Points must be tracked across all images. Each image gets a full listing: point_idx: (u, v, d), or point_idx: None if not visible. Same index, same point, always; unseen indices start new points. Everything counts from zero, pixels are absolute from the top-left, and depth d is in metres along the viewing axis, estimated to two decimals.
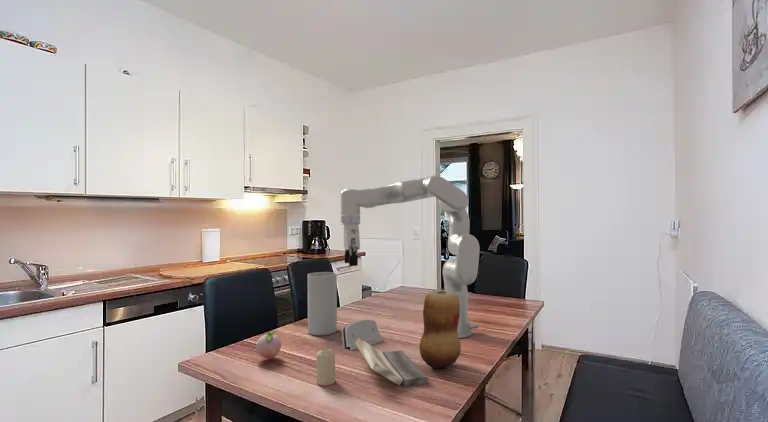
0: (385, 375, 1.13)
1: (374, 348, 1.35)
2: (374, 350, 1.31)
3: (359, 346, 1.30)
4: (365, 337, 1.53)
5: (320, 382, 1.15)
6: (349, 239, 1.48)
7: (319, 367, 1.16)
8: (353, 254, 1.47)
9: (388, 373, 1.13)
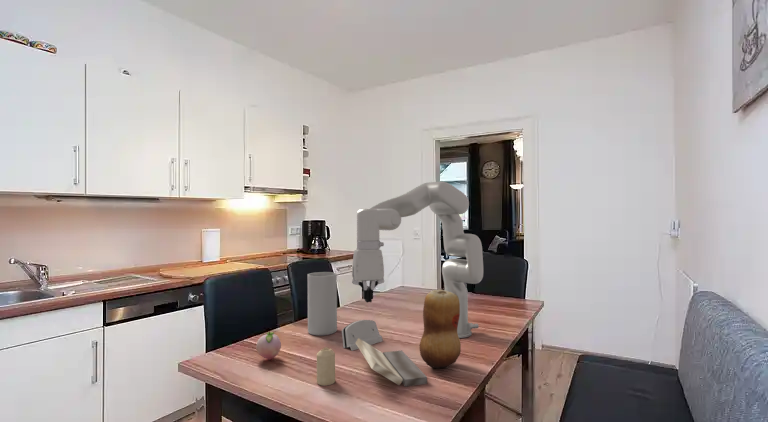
0: (385, 375, 1.13)
1: (374, 348, 1.35)
2: (374, 350, 1.31)
3: (359, 346, 1.30)
4: (365, 337, 1.53)
5: (320, 382, 1.15)
6: (383, 267, 1.29)
7: (319, 367, 1.16)
8: None
9: (388, 373, 1.13)
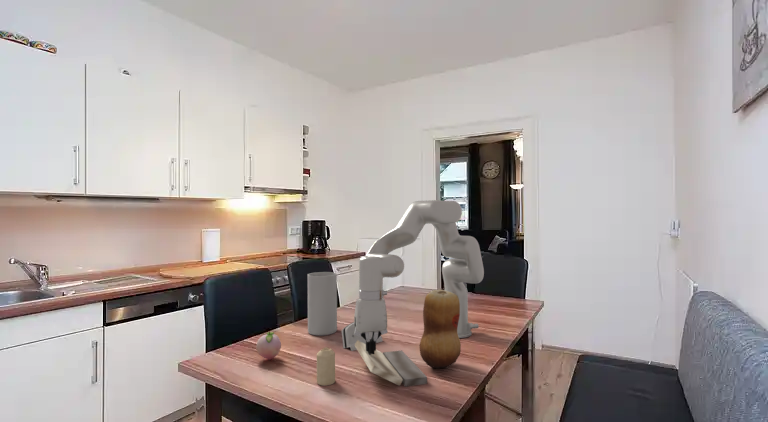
0: (385, 377, 1.13)
1: None
2: None
3: (358, 348, 1.30)
4: None
5: (320, 382, 1.15)
6: (386, 317, 1.24)
7: (319, 367, 1.16)
8: None
9: (387, 375, 1.13)
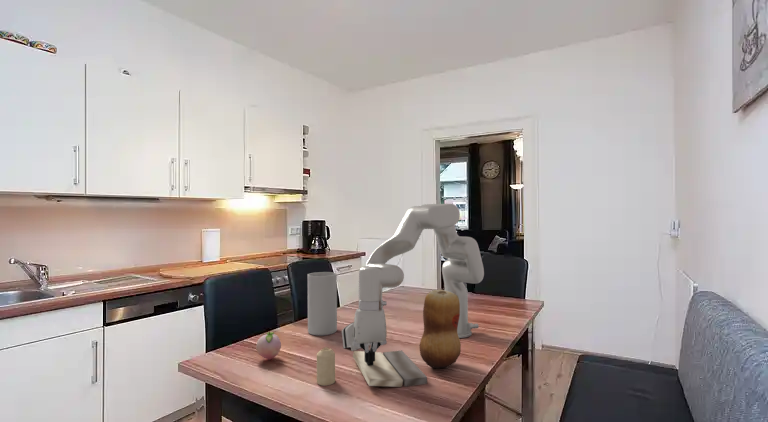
0: (384, 384, 1.13)
1: None
2: None
3: (356, 360, 1.29)
4: None
5: (320, 382, 1.15)
6: None
7: (319, 367, 1.16)
8: None
9: (386, 381, 1.13)
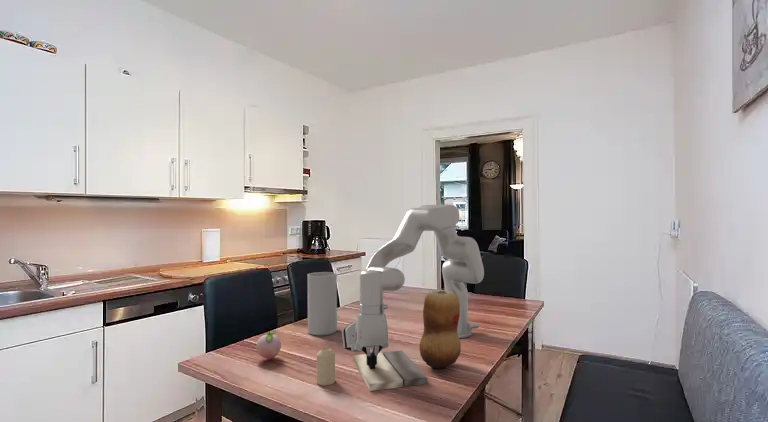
0: (385, 387, 1.13)
1: None
2: None
3: (356, 365, 1.29)
4: None
5: (320, 382, 1.15)
6: (387, 331, 1.24)
7: (319, 367, 1.16)
8: None
9: (386, 384, 1.13)
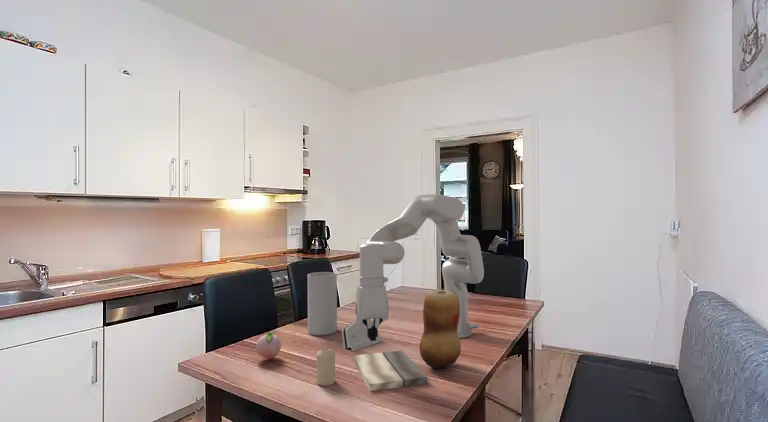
0: (385, 387, 1.13)
1: (372, 355, 1.35)
2: (371, 359, 1.31)
3: (356, 365, 1.29)
4: (365, 337, 1.52)
5: (320, 382, 1.15)
6: None
7: (319, 367, 1.16)
8: None
9: (386, 384, 1.13)
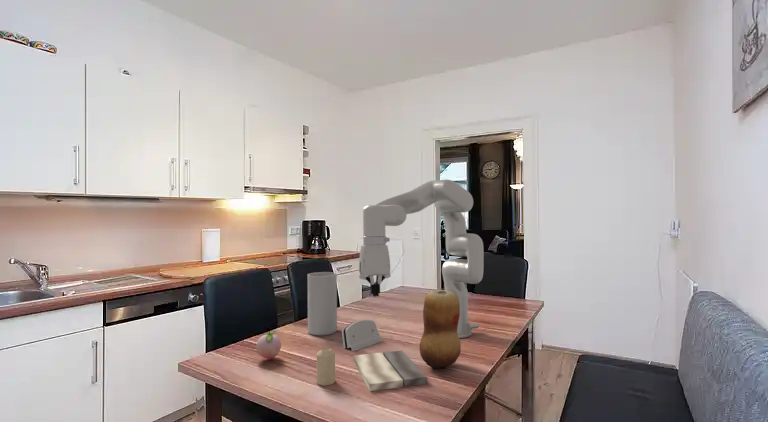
0: (385, 387, 1.13)
1: (372, 355, 1.35)
2: (371, 359, 1.31)
3: (356, 365, 1.29)
4: (365, 337, 1.52)
5: (320, 382, 1.15)
6: (389, 262, 1.32)
7: (319, 367, 1.16)
8: None
9: (386, 384, 1.13)
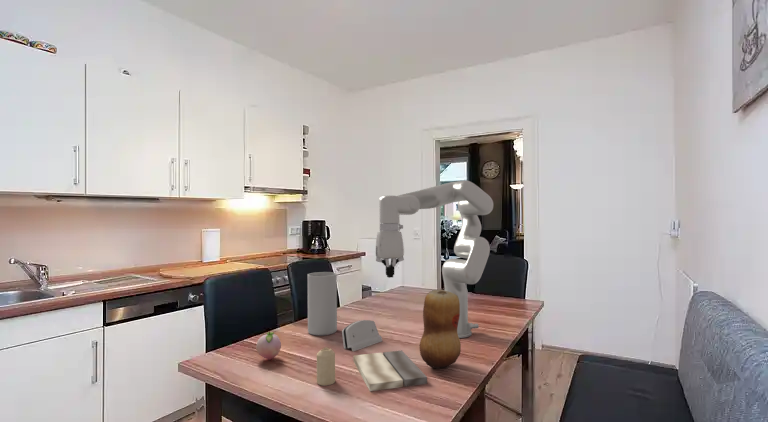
0: (385, 387, 1.13)
1: (372, 355, 1.35)
2: (371, 359, 1.31)
3: (356, 365, 1.29)
4: (365, 337, 1.52)
5: (320, 382, 1.15)
6: None
7: (319, 367, 1.16)
8: None
9: (386, 384, 1.13)
